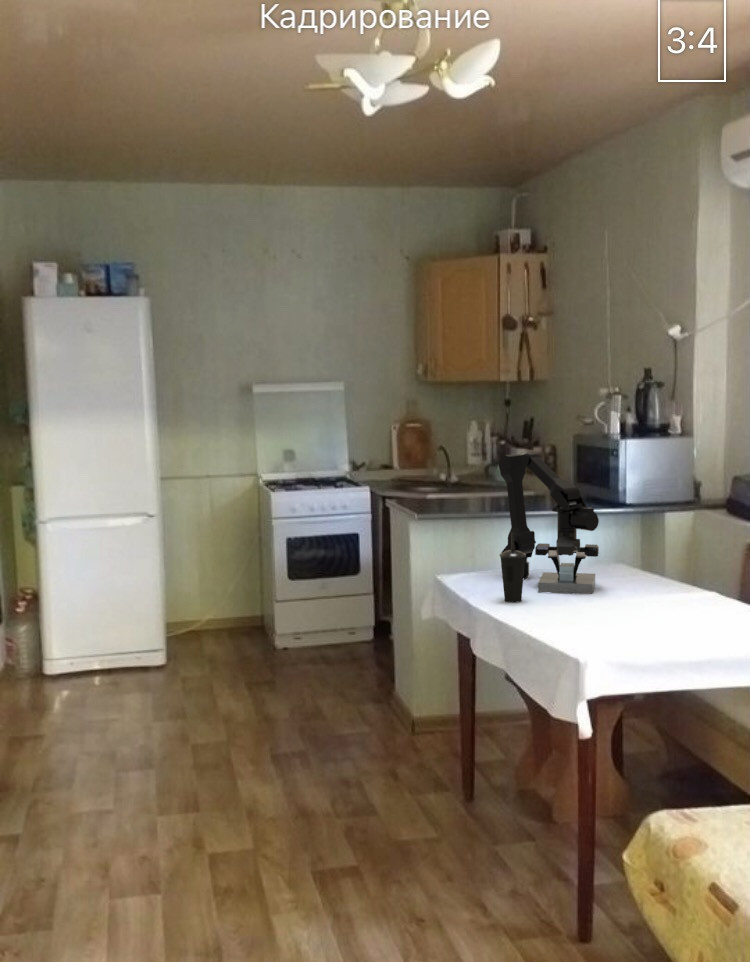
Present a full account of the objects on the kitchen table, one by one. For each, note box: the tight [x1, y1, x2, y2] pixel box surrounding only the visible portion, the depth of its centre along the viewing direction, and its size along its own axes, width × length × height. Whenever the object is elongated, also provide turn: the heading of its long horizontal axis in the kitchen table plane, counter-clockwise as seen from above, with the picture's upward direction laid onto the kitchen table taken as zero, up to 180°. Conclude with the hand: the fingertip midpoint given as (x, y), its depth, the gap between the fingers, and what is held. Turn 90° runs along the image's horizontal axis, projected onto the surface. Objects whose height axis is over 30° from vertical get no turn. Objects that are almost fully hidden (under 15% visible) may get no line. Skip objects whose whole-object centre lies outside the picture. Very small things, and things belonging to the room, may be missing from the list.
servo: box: [559, 562, 575, 581], centre depth 319 cm, size 4×10×5 cm, turn 165°
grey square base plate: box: [537, 571, 596, 595], centre depth 319 cm, size 16×16×3 cm
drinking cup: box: [499, 532, 526, 603], centre depth 302 cm, size 8×8×20 cm
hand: (567, 577), depth 319 cm, fingers closed on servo, 4 cm apart
